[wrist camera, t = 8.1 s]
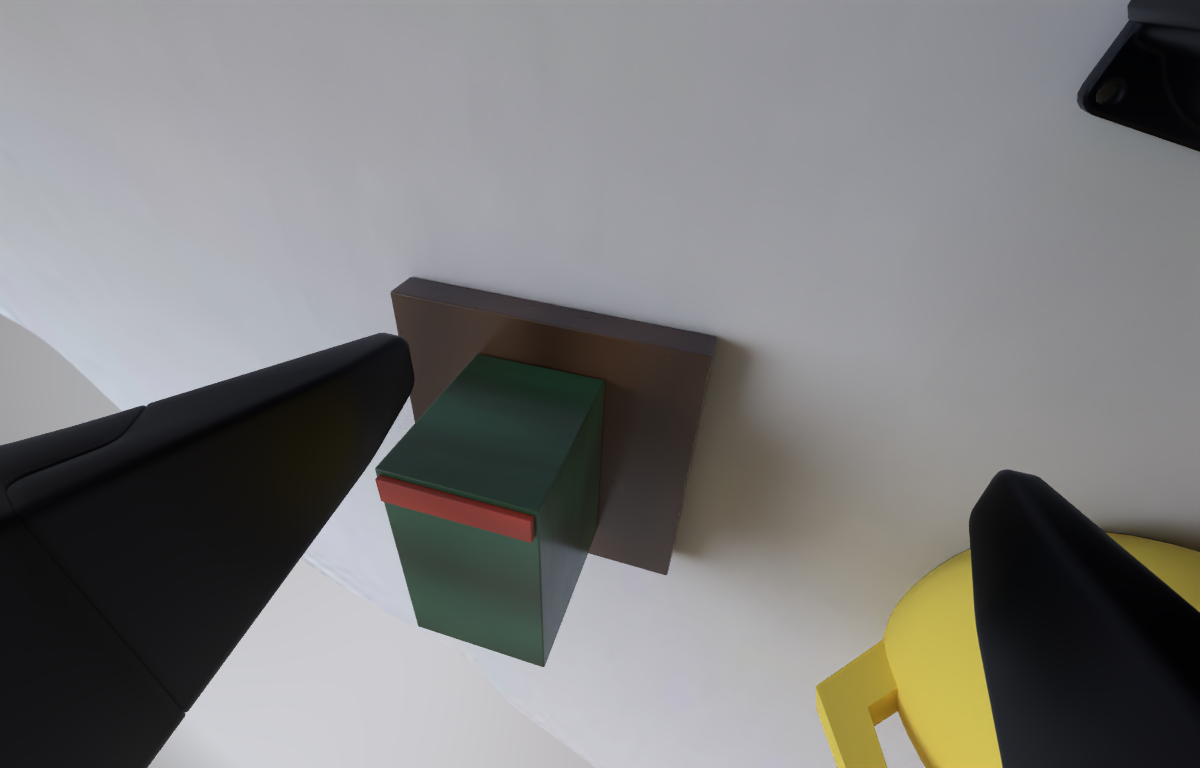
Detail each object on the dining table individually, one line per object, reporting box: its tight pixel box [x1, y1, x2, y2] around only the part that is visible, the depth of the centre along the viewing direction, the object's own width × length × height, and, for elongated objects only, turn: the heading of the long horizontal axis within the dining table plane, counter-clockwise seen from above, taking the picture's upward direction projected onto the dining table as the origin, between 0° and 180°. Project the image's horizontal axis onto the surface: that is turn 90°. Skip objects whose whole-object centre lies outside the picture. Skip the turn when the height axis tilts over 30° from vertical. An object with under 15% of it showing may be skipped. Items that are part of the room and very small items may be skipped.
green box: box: [375, 354, 605, 667], centre depth 22 cm, size 9×6×7 cm, turn 177°
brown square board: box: [391, 277, 716, 575], centre depth 26 cm, size 13×13×2 cm
